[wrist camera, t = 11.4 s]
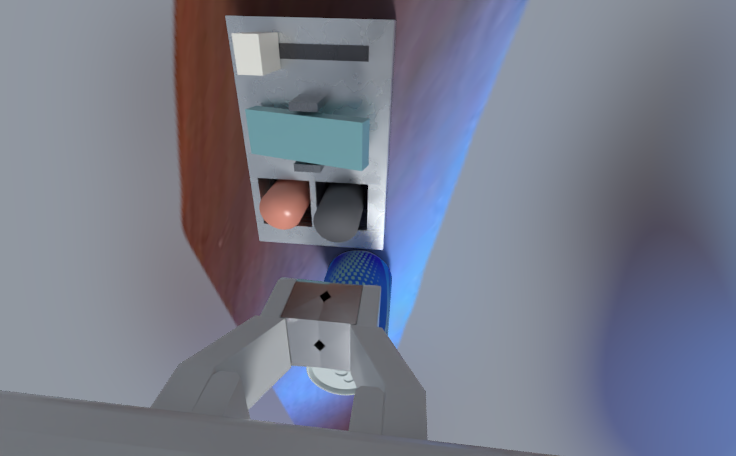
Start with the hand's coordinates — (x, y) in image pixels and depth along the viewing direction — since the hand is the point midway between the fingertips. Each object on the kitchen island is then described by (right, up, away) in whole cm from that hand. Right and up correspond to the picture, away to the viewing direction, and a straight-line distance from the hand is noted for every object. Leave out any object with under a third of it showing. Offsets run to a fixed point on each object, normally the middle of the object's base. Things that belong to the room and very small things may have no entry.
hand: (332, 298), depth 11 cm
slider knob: (-7, +17, +20) cm, 27 cm away
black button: (-1, +6, +29) cm, 30 cm away
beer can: (0, -4, +37) cm, 37 cm away
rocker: (-4, +10, +21) cm, 23 cm away
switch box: (-3, +12, +28) cm, 31 cm away
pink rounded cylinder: (-7, +7, +31) cm, 32 cm away
